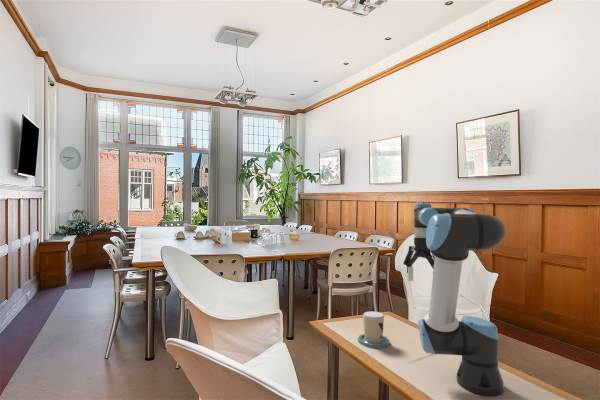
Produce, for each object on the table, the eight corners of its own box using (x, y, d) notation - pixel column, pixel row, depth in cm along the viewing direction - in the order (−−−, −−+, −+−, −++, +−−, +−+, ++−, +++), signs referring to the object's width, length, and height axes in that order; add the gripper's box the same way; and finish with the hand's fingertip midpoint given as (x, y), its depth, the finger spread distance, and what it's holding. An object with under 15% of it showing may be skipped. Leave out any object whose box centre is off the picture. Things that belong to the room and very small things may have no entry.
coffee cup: (384, 345, 159) (384, 318, 159) (362, 343, 161) (362, 316, 161) (383, 337, 168) (383, 311, 168) (363, 336, 170) (363, 310, 170)
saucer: (395, 344, 163) (395, 340, 163) (373, 351, 155) (373, 347, 155) (373, 334, 174) (373, 331, 174) (351, 340, 167) (351, 337, 167)
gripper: (452, 238, 157) (452, 287, 157) (406, 234, 178) (406, 277, 178) (441, 239, 153) (441, 290, 153) (395, 235, 174) (395, 279, 173)
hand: (422, 283), depth 165 cm, fingers open, 13 cm apart
